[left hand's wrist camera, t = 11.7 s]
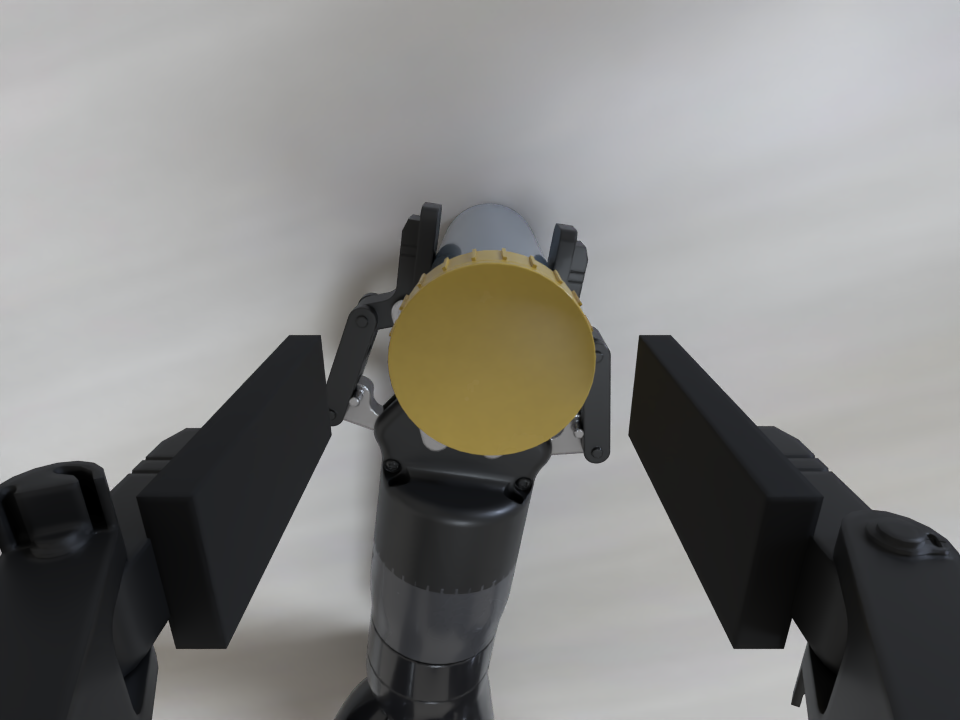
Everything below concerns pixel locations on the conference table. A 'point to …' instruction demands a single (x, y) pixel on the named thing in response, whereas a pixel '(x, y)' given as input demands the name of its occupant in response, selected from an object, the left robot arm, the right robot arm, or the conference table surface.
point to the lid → (491, 353)
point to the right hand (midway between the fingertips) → (498, 218)
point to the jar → (488, 234)
